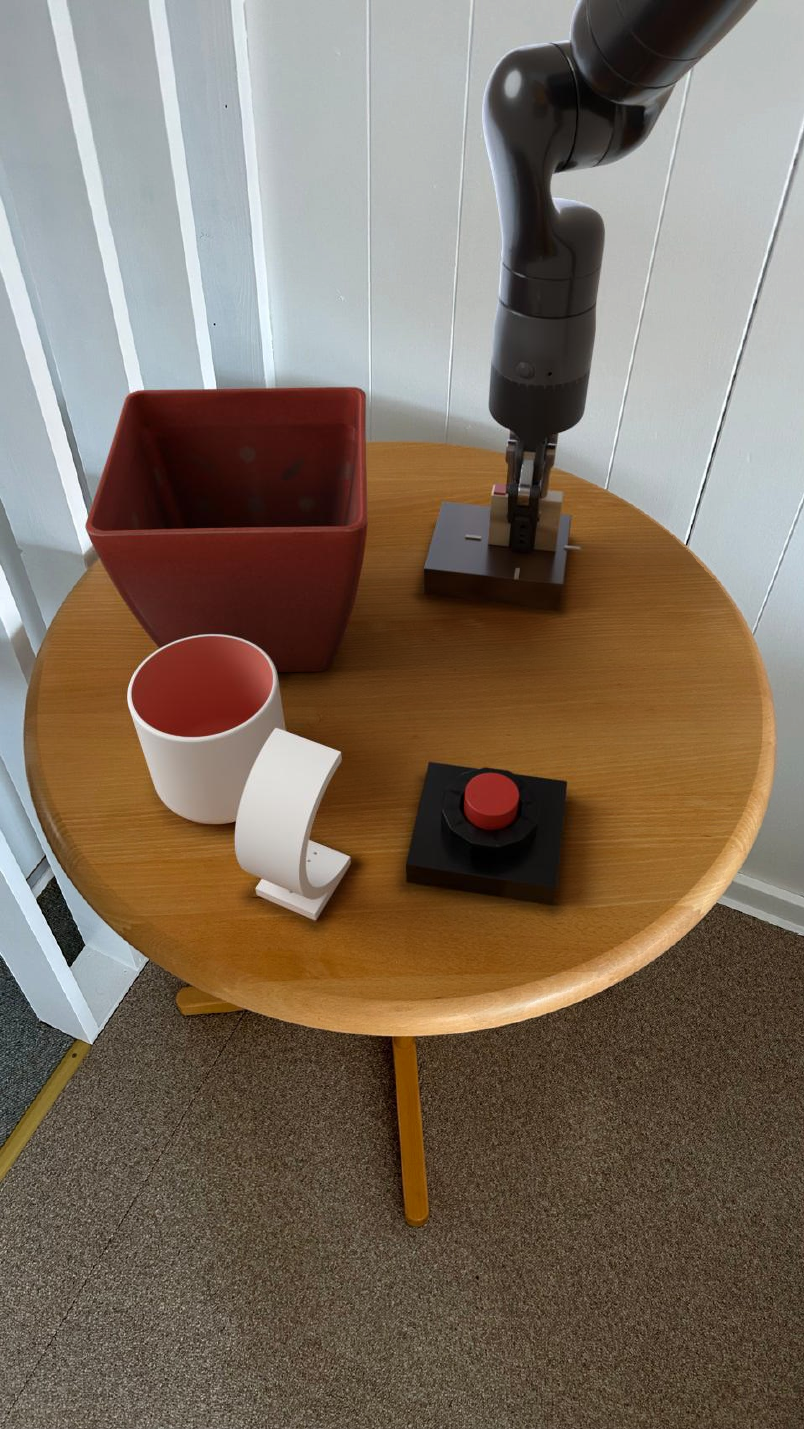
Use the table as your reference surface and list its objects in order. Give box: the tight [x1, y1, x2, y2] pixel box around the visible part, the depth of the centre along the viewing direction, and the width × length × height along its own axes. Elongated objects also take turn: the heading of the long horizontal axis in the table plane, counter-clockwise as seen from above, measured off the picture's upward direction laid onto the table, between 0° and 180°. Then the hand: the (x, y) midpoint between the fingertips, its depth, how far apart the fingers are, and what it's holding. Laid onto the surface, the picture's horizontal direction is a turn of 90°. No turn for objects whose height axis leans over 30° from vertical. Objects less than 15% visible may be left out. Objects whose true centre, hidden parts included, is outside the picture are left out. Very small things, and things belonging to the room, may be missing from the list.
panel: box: [423, 501, 582, 611], centre depth 87 cm, size 13×10×3 cm
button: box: [464, 773, 519, 830], centre depth 65 cm, size 4×4×2 cm
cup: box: [126, 634, 287, 825], centre depth 68 cm, size 10×10×10 cm
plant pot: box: [84, 386, 368, 673], centre depth 77 cm, size 19×19×17 cm
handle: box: [488, 483, 565, 552], centre depth 84 cm, size 6×2×5 cm, turn 79°
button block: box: [405, 761, 568, 906], centre depth 67 cm, size 10×9×4 cm
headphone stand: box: [234, 728, 352, 922], centre depth 61 cm, size 5×6×12 cm
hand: (522, 540), depth 86 cm, fingers closed on handle
